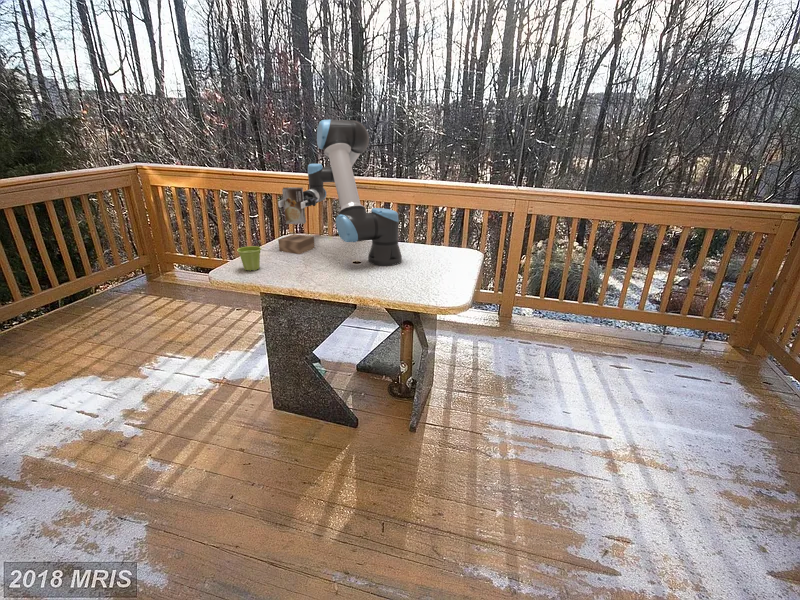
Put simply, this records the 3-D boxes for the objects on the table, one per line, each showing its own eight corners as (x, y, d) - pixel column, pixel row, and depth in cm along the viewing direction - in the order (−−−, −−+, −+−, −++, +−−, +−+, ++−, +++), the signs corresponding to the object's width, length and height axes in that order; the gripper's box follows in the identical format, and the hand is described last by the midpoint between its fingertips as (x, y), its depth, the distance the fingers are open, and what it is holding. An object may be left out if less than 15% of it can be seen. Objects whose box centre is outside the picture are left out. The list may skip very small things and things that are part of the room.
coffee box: (306, 221, 192) (303, 187, 185) (305, 223, 186) (302, 189, 180) (286, 221, 190) (283, 187, 184) (285, 224, 185) (281, 189, 178)
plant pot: (236, 268, 165) (233, 248, 162) (257, 264, 171) (255, 244, 168) (245, 274, 159) (242, 253, 156) (267, 269, 165) (265, 249, 162)
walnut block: (314, 248, 196) (313, 236, 194) (299, 254, 186) (298, 242, 184) (295, 245, 201) (293, 234, 198) (279, 251, 190) (278, 239, 188)
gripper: (331, 206, 200) (314, 214, 180) (289, 203, 204) (268, 211, 184) (330, 191, 197) (313, 197, 177) (287, 189, 201) (266, 195, 181)
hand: (290, 205), depth 181 cm, fingers closed on coffee box, 10 cm apart
